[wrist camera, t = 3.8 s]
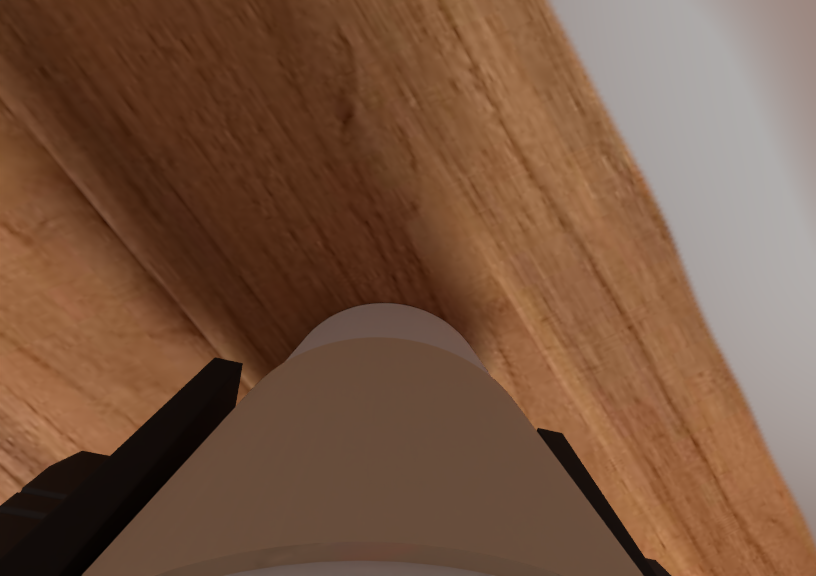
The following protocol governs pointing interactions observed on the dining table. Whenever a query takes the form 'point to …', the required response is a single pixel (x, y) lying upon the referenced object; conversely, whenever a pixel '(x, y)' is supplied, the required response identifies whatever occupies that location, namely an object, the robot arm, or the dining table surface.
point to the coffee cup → (371, 472)
